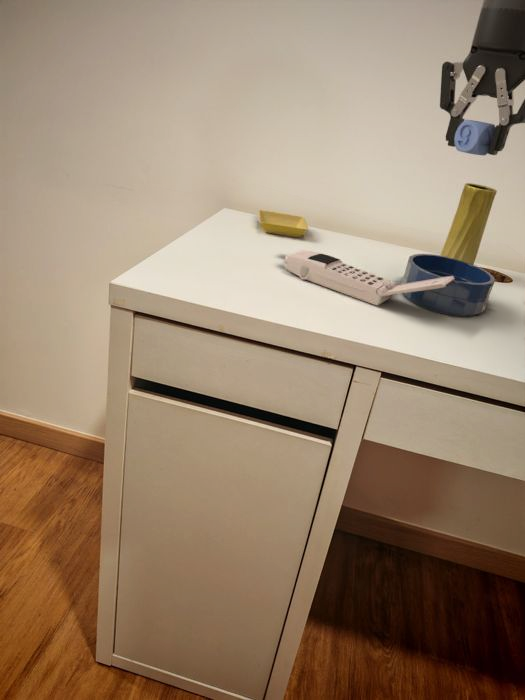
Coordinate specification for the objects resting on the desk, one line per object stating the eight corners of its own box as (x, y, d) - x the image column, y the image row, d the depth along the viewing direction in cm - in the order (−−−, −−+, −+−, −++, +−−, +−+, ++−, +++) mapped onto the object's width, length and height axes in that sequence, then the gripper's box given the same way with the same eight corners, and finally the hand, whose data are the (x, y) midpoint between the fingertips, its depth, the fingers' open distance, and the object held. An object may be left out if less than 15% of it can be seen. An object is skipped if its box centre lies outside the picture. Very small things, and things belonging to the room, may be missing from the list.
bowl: (492, 305, 88) (503, 274, 86) (469, 325, 78) (481, 291, 76) (416, 279, 93) (425, 249, 91) (386, 295, 84) (395, 262, 82)
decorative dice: (491, 156, 81) (501, 125, 79) (473, 154, 78) (482, 123, 77) (468, 150, 83) (477, 120, 82) (450, 149, 81) (458, 118, 80)
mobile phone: (445, 285, 73) (276, 228, 83) (430, 328, 75) (268, 267, 86) (457, 276, 77) (296, 223, 88) (443, 317, 80) (288, 261, 90)
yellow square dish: (306, 241, 103) (308, 229, 102) (257, 233, 102) (259, 221, 101) (302, 227, 110) (304, 216, 109) (256, 220, 110) (258, 209, 109)
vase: (431, 261, 105) (456, 180, 98) (463, 265, 106) (489, 185, 99) (444, 272, 99) (471, 188, 93) (477, 277, 100) (506, 193, 94)
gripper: (448, 0, 74) (413, 140, 81) (567, 10, 67) (518, 162, 75) (466, 10, 80) (432, 140, 87) (578, 19, 73) (531, 160, 80)
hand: (472, 149), depth 81 cm, fingers closed on decorative dice, 5 cm apart
